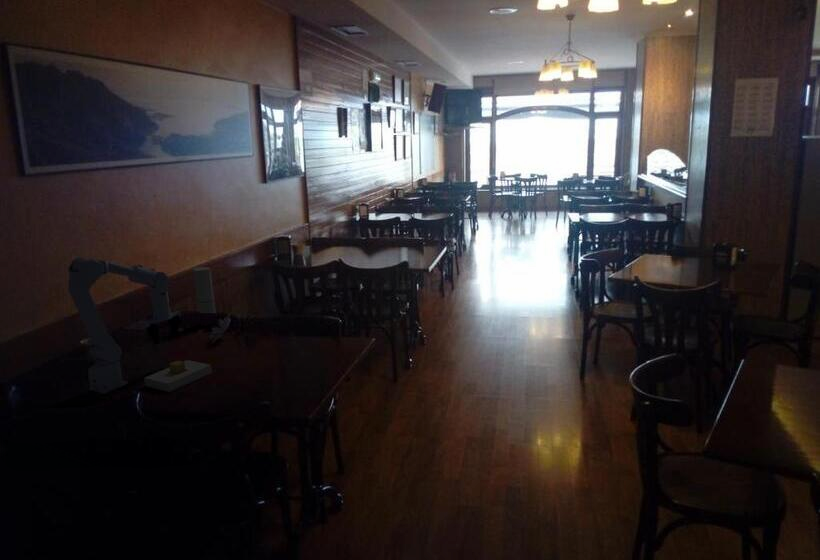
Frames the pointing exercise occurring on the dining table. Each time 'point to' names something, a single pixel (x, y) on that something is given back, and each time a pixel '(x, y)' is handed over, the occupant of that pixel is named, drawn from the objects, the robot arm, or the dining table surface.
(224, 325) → the water lily
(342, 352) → the dining table surface
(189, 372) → the well block
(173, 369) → the peg
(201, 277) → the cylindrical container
